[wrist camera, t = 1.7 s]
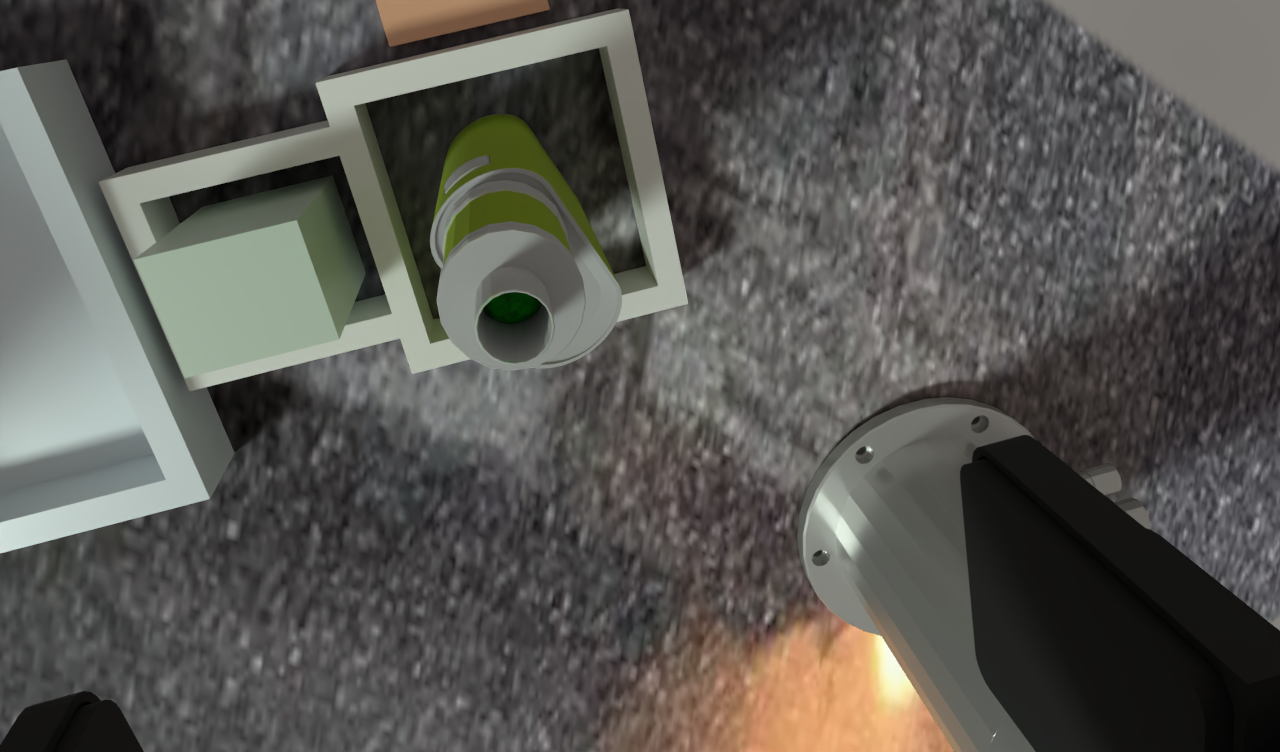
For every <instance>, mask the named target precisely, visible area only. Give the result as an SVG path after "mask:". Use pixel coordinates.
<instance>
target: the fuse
mask: <svg viewBox="0 0 1280 752" xmlns="http://www.w3.org/2000/svg"><path fill="white" fill-rule="evenodd" d="M134 262H135V264H136V267H137V269H138V271H139V274H140V276H141V278H142V280H143V283H144V285H145V287H146V290H147V292H148V294H149V297H150V299H151V301H152V304H153V306H154V308H155V310H156V313H157V315H158V317H159V320H160V322H161V324H162V327H163V329H164V331H165V333H166V336H167V338H168V340H169V343H170V345H171V347H172V350H173V352H174V354H175V356H176V359H177V361H178V363H179V366H180V368H181V370H182V373H183V375H184V377H185V378H188V377H192V376H196V375H200V374H204V373H208V372H212V371H216V370H220V369H224V368H227V367H231V366H235V365H239V364H243V363H247V362H251V361H255V360H259V359H263V358H267V357H271V356H275V355H279V354H283V353H287V352H291V351H295V350H299V349H303V348H307V347H311V346H315V345H319V344H323V343H327V342H331V341H335V340H339V339H340V337H341V334H342V332H343V329H344V327H345V324H346V322H347V319H348V317H349V315H350V312H351V310H352V307H353V305H354V302H355V300H356V297H357V295H358V292H359V290H360V287H361V285H362V282H363V280H364V277H365V275H366V272H365V269H364V266H363V263H362V260H361V257H360V254H359V251H358V248H357V245H356V242H355V239H354V236H353V233H352V231H351V228H350V225H349V222H348V219H347V216H346V213H345V210H344V207H343V204H342V201H341V198H340V195H339V192H338V189H337V186H336V183H335V180H334V177H333V175H332V176H328V177H323V178H319V179H315V180H311V181H307V182H303V183H298V184H294V185H290V186H286V187H282V188H278V189H273V190H269V191H265V192H261V193H257V194H253V195H248V196H244V197H240V198H236V199H232V200H228V201H223V202H219V203H215V204H211V205H207V206H203V207H201V208H200V209H199V210H197V211H196V212H195V213H194V214H192V215H191V216H190V217H188V218H187V219H186V220H184V221H183V222H182V223H181V224H179V225H178V226H177V227H175V228H174V229H173V230H171V231H170V232H169V233H168V234H166V235H165V236H164V237H162V238H161V239H160V240H158V241H157V242H156V243H155V244H153V245H152V246H151V247H149V248H148V249H147V250H145V251H144V252H143V253H142V254H140V255H139V256H138V257H136V258H135V259H134Z"/></svg>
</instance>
